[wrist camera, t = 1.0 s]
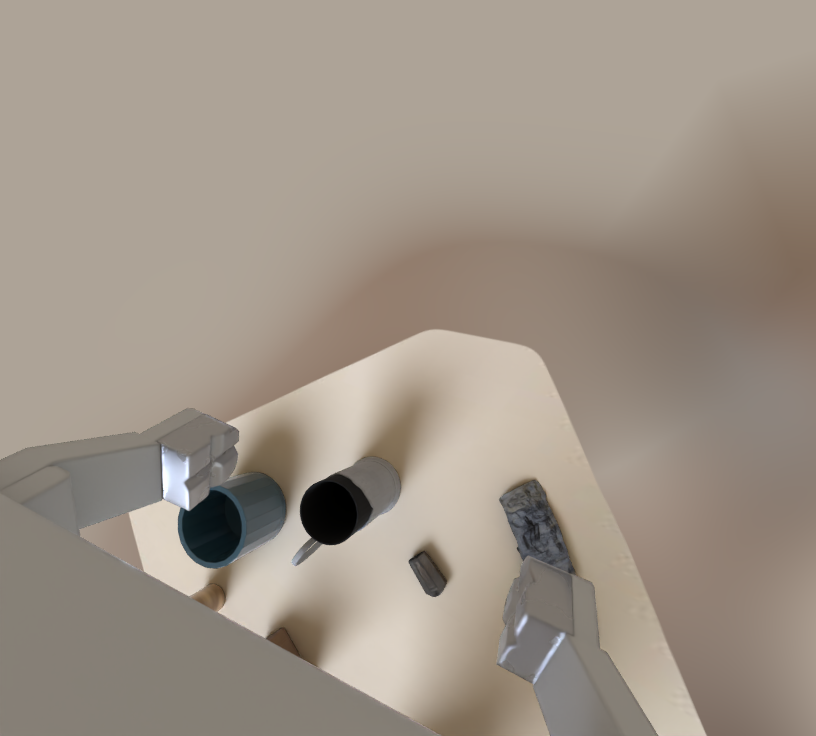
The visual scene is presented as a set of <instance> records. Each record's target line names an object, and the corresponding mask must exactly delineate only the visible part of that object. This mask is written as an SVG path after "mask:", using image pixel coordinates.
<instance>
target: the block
mask: <svg viewBox="0 0 816 736" xmlns="http://www.w3.org/2000/svg"><path fill="white" fill-rule="evenodd" d="M409 564H410V566H411V568H412V569H413V571H414V573H415V575H416V577H417V578H418V580H419V582H420V584H421V586H422V587H423V589H424V591H425V593H426V594H428V595H430V596H432V597H436V596H439V595H440V594H441V593H442V592H443V590H444V588H445V586H446V584H447V580H446V579H445V578H444V576H443V575H442V573H441V572H440V570H439V569H438V568H437V566H436V565H435V564H434V562H433V561H432V559H431V558H430V557H429V555H428V554H427V552H426V551H423V552H421V553H419V554H418V555H416V556H414V557H413V558H411V559H410V560H409Z"/></svg>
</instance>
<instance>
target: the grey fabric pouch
mask: <svg viewBox="0 0 816 736" xmlns="http://www.w3.org/2000/svg"><path fill="white" fill-rule="evenodd" d="M545 498H546V494H545V492H544V491H543V489H542V487H541V485H540V484H539V482H537V481H535V480H534V481H531V482H529V483H527V484H525V485H523V486H520V487H518V488H516V489H514V490H512V491H511V492H509V493H506V494H504V495H503V496H502V497H501V498H500V499H499V501H500V503H501V504H502V506H503V508H504V511H505V513H506V515H507V518H508V522H509V524H510V527H511V529H512V532H513V534H514V536H515V537H516V540H517V543H518V547H517V550H518V552H519V553H520V555H521V557H522V559H523V561H524V559H525V558H526V557H527V556H530V557H533V558H535V559H537V560H540V561H542V562H544V563H547V564H549V565H551V566H554V567H556V568H558V569H561V570H563V571H565V572H568V573H569V574H570V573H571V574H573V575H576V574H575V571H574V569H573V566H572V563H571V561H570V559H569V556H568V551H567V548H566V546H565V544H564V542H563V539H562V534H561V531H560V529H559V526H558V524H557V522H556V520H555V518H554V516H553V513H552V511H551V509H550V507H549V505H548V502H547V501H546V499H545Z"/></svg>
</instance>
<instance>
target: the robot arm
mask: <svg viewBox="0 0 816 736" xmlns="http://www.w3.org/2000/svg"><path fill="white" fill-rule="evenodd" d="M238 441H239V431H238V430H237V429H236V428H235V427H233V426H231V425H228V424H226V423H224V422H222V421H220V420H218V419H216V418H213V417H211V416H209V415H206V414H204V413H202V412H200V411H198V410H195V409H193V408H187V409H185V410H183V411H181V412H179V413H178V414H176V415H174V416H172V417H170V418H168V419H166V420H164V421H163V422H161V423H159V424H157V425H155V426H154V427H152V428H150V429H148V430H146V431H144V432H142V433H141V434H138V433H136V432H132V433H125V434H118V435H112V436H104V437H98V438H91V439H84V440H77V441H70V442H64V443H57V444H50V445H44V446H37V447H30V448H25V449H23V450H21V451H19V452H16V453H14V454H12V455H10V456H8V457H5V458H3V459H1V460H0V736H441V735H440V734H438V733H436V732H434V731H432V730H431V729H429V728H427V727H425V726H423V725H421V724H420V723H418V722H416V721H414V720H412V719H410V718H409V717H407V716H405V715H403V714H401V713H400V712H398V711H396V710H394V709H392V708H390V707H389V706H387V705H385V704H383V703H381V702H380V701H378V700H376V699H374V698H372V697H370V696H369V695H367V694H365V693H363V692H361V691H360V690H358V689H356V688H354V687H352V686H350V685H349V684H347V683H345V682H343V681H341V680H340V679H338V678H336V677H334V676H332V675H330V674H329V673H327V672H325V671H323V670H321V669H320V668H318V667H316V666H314V665H312V664H310V663H309V662H307V661H305V660H303V659H301V658H299V657H298V656H296V655H294V654H292V653H290V652H289V651H287V650H285V649H283V648H281V647H279V646H278V645H276V644H274V643H272V642H270V641H269V640H267V639H265V638H263V637H261V636H259V635H258V634H256V633H254V632H252V631H250V630H249V629H247V628H245V627H243V626H241V625H239V624H238V623H236V622H234V621H232V620H230V619H229V618H227V617H225V616H223V615H221V614H219V613H218V612H216V611H214V610H212V609H210V608H209V607H207V606H205V605H203V604H201V603H199V602H198V601H196V600H194V599H192V598H190V597H189V596H187V595H185V594H183V593H181V592H180V591H178V590H176V589H174V588H172V587H170V586H169V585H167V584H165V583H163V582H161V581H160V580H158V579H156V578H154V577H152V576H151V575H149V574H147V573H145V572H143V571H141V570H140V569H138V568H136V567H134V566H132V565H130V564H129V563H126V562H125V561H123V560H121V559H120V558H118V557H116V556H114V555H112V554H111V553H109V552H107V551H105V550H103V549H101V548H100V547H97V546H96V545H94V544H92V543H90V542H89V541H87V540H85V539H83V538H81V537H80V532H79V529H81V528H84V527H87V526H90V525H93V524H96V523H99V522H101V521H104V520H107V519H110V518H113V517H116V516H119V515H121V514H124V513H127V512H130V511H133V510H136V509H139V508H142V507H144V506H147V505H150V504H153V503H156V502H159V501H161V500H162V499H164V500H166V501H168V502H171V503H173V504H175V505H177V506H179V507H181V508H184V509H186V510H188V511H190V510H191V509H192V508H194V507H195V506H196V505H197V504H198V503H200V502H201V501H202V500H203V499H205V498H206V497H207V496H208V495H209V490H210V488H211V487H215V486H219V485H221V484H223V483H224V482H225V481H226V480H227V479H228V478H229V477H230V475H231V474H232V472H233V471H234V469H235V467H236V464H237V460H238V453H237V451H236V449H235V447H234V445H235V444H236V443H237V442H238ZM503 621H504V623H505V625H506V626H505V628H504V630H503V632H502V634H501V636H500V641H499V648H498V656H497V665H499V666H500V667H502V668H504V669H506V670H508V671H510V672H512V673H514V674H515V675H517V676H519V677H521V678H523V679H525V680H527V681H529V682H531V683H532V684H534V685H533V688H534V691H535V693H536V696H537V699H538V702H539V705H540V708H541V710H542V713H543V716H544V719H545V722H546V725H547V727H548V730H549V733H550V736H658V735H657V733H656V731H655V730H654V728H653V726H652V725H651V723H650V721H649V720H648V718H647V717H646V715H645V713H644V712H643V710H642V708H641V707H640V705H639V704H638V702H637V700H636V699H635V697H634V695H633V694H632V692H631V691H630V689H629V687H628V686H627V684H626V682H625V681H624V679H623V678H622V676H621V674H620V673H619V671H618V669H617V668H616V666H615V665H614V663H613V661H612V660H611V658H610V656H609V655H608V653H607V652H605V651H603V650H601V649H600V643H599V632H598V622H597V611H596V600H595V590H594V585H593V584H592V582H590V581H587V580H585V579H582V578H580V577H578V576H575V575H573V574H571V573H570V574H569V573H568V572H565V571H563V570H561V569H558V568H556V567H554V566H551V565H549V564H547V563H544V562H542V561H540V560H537V559H535V558H533V557H530V556H527V557H526V558H525V559H524V561H523V563H522V565H521V569H520V577H518V578H515V579H514V581H513V583H512V585H511V587H510V590H509V593H508V596H507V599H506V603H505V607H504V613H503Z"/></svg>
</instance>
